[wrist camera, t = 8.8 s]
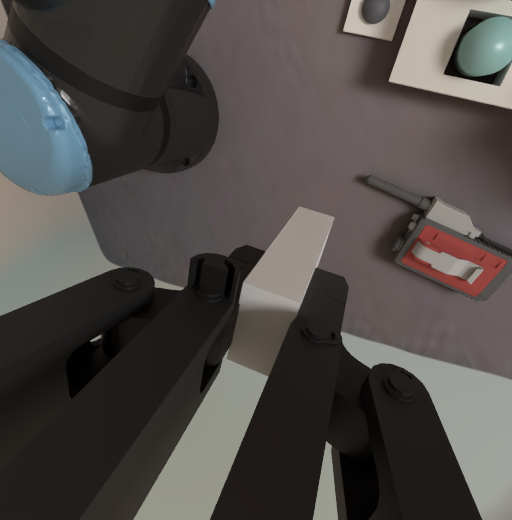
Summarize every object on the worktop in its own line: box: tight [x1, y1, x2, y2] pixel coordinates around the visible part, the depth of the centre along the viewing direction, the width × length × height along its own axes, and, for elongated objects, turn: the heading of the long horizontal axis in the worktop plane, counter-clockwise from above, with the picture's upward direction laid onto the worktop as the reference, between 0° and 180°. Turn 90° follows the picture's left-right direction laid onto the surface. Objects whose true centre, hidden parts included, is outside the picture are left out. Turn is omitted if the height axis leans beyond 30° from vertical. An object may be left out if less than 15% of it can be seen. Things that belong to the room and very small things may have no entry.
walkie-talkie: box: [365, 175, 512, 301], centre depth 39 cm, size 9×4×20 cm
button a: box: [454, 17, 512, 77], centre depth 30 cm, size 4×4×4 cm
